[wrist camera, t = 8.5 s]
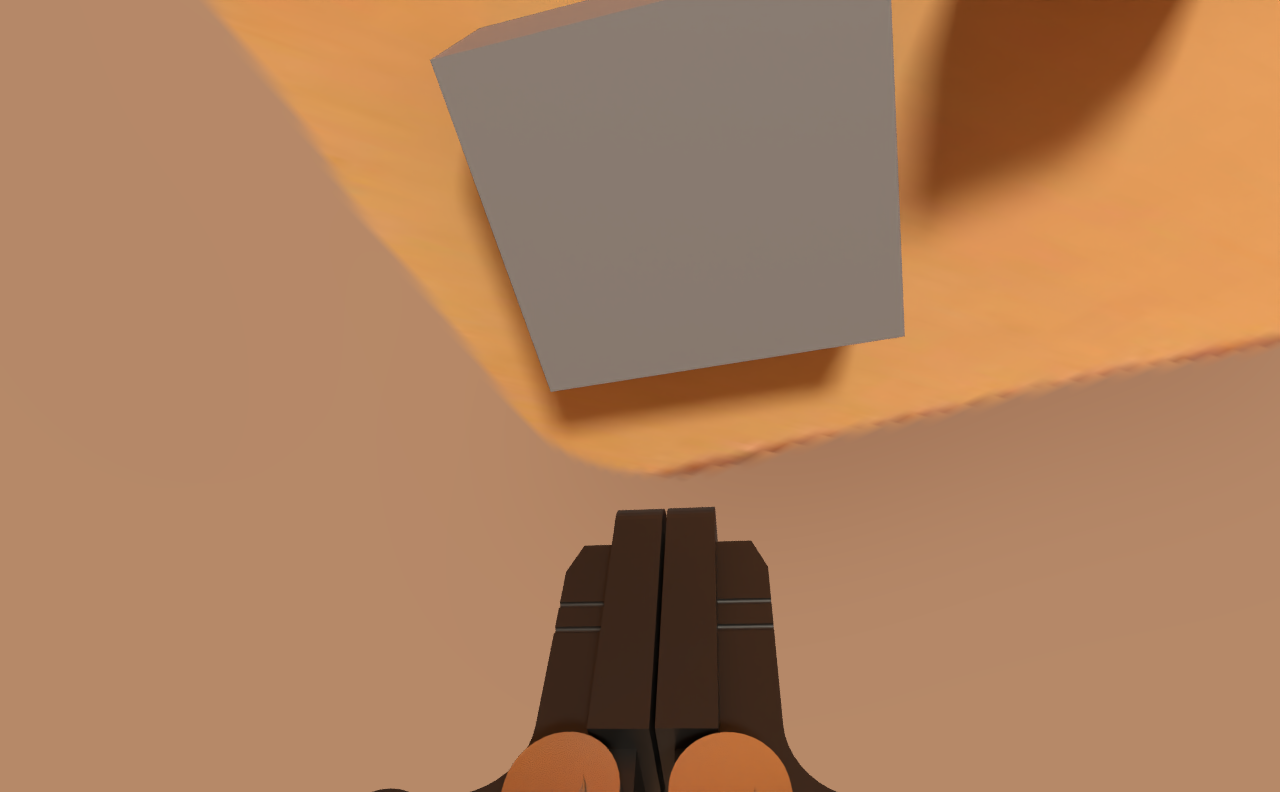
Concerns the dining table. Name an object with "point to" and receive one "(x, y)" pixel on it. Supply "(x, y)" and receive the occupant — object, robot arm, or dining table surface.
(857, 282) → the slate riser block
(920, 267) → the dining table surface
